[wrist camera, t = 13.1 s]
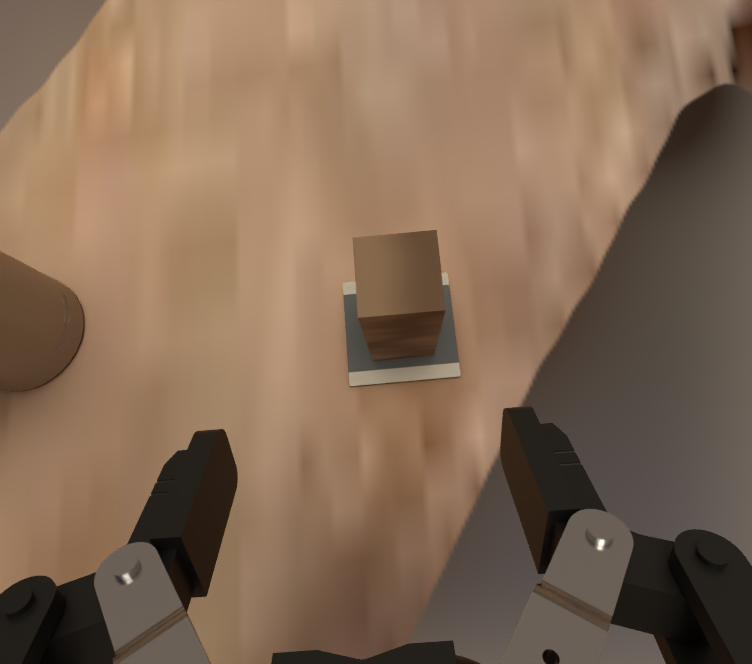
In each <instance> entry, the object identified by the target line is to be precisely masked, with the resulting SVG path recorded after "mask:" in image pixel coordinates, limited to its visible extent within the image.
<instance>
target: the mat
mask: <svg viewBox="0 0 752 664" xmlns="http://www.w3.org/2000/svg"><path fill="white" fill-rule="evenodd" d="M442 282H443V291H444V300H445V309H446V311H445V315H444V319H443V323H442V327H441V331H440V335H439V339H438V343H437V347H436V351H435V355H434V356H426V357H414V358H402V359H390V360H377V361H373V360H372V357H371V354H370V352H369V349H368V346H367V343H366V340H365V337H364V334H363V331H362V328H361V325H360V323H359V320H358V312H357V296H356V281H354V282H344V283H343V294H344V308H345V323H346V338H347V353H348V368H349V383H350V386H361V385H372V384H383V383H394V382H405V381H416V380H427V379H438V378H449V377H460V376H461V375H460V367H459V360H458V352H457V344H456V336H455V328H454V320H453V313H452V305H451V297H450V289H449V281H448V273H447V272H445V273H442Z"/></svg>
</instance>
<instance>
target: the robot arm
mask: <svg viewBox="0 0 752 664" xmlns="http://www.w3.org/2000/svg"><path fill="white" fill-rule="evenodd" d="M83 327H84V326H83V313H82V309H81V305H80V303H79V301H78V299H77V297H76V296H75V294H74V293H73V292H72V291H71V290H70V289H69V288H68V287H67V286H65V285H63V284H62V283H60V282H59V281H57V280H55V279H53V278H51V277H49V276H47V275H45V274H43V273H41V272H39V271H37V270H35V269H33V268H32V267H30V266H28V265H26V264H24V263H22V262H21V261H19V260H17V259H15V258H13V257H11V256H9V255H7V254H5V253H3V252H1V251H0V390H7V391H24V390H28V389H32V388H35V387H38V386H40V385H42V384H44V383H46V382H48V381H50V380H51V379H52V378H54V377H55V376H56V375H58V374H59V373H60V372H61V371H62V370H63V369H64V368H65V367H66V366H67V364H68V363H69V362H70V361H71V359H72V357H73V356H74V354H75V353H76V351H77V349H78V346H79V344H80V341H81V338H82V333H83ZM500 453H501V461H502V466H503V470H504V473H505V476H506V479H507V482H508V485H509V488H510V491H511V494H512V497H513V500H514V503H515V506H516V509H517V512H518V515H519V518H520V521H521V524H522V527H523V529H524V533H525V536H526V539H527V542H528V544H529V548H530V551H531V554H532V557H533V560H534V562H535V566H536V569H537V572H538V574H545V575H544V578H543V580H542V582H541V583H540V584H537V585H536V586H535V588H534V590H533V592H532V594H531V596H530V598H529V601H528V603H527V605H526V607H525V610H524V611H523V614H522V616H521V618H520V621H519V623H518V625H517V627H516V630H515V632H514V634H513V636H512V638H511V640H510V643H509V645H508V647H507V649H506V652H505V654H504V656H503V658H502V661H501V663H500V664H598V663H599V660H600V656H601V653H602V650H603V646H604V643H605V640H606V636H607V633H608V630H609V626H610V623H611V624H615V625H619V626H623V627H626V628H630V629H635V630H638V631H642V632H646V633H650V634H653V635H654V637H655V639H656V641H657V644H658V646H659V649H660V651H661V653H662V655H663V658H664V660H665V662H666V664H752V566H751V565H750V563H749V562H748V560H747V559H746V557H745V556H744V555H743V553H742V552H741V551H740V550H739V549H738V548H737V547H736V546H735V545H734V544H732V543H731V542H730V541H728V540H727V539H725V538H723V537H721V536H719V535H717V534H715V533H712V532H708V531H705V530H696V529H695V530H687V531H684V532H682V533H681V534H679V535H678V536H677V538H676V539H675V542H673V541H668V540H663V539H658V538H653V537H648V536H644V535H640V534H637V533H635V532H632V531H630V530H629V529H628V528H627V526H626V525H625V524H624V523H623V522H622V521H621V520H619V519H618V518H617V517H615V516H613V515H612V514H609V513H608V512H607V511H606V509H605V508H604V506H603V504H602V502H601V500H600V498H599V496H598V494H597V492H596V491H595V489H594V487H593V485H592V483H591V481H590V479H589V477H588V475H587V473H586V472H585V470H584V468H583V466H582V465H581V463H580V460H579V458H578V456H577V454H576V453H575V452H574V449H573V447H572V445H571V443H570V441H569V439H568V437H567V435H566V434H564V433H563V432H562V431H561V430H560V429H559V428H557V427H556V426H555V425H554V424H553V423H547V424H540V423H539V420H538V418H537V416H536V414H535V412H534V410H533V408H532V407H530V406H529V407H528V406H527V407H514V408H505V409H504V410H503V418H502V432H501V446H500ZM237 479H238V477H237V467H236V464H235V461H234V457H233V454H232V451H231V448H230V444H229V441H228V438H227V435H226V432H225V431H224V430H223V429H218V430H205V431H196V432H195V433H194V435H193V437H192V440H191V442H190V444H189V447H188V449H187V450H181V451H177V452H176V453H175V454H174V455H173V456H172V457H171V458H170V459H169V460H168V461H167V463H166V464H165V465H164V466H163V469H162V471H161V473H160V475H159V477H158V479H157V483H156V484H155V486H154V488H153V490H152V492H151V496H150V497H149V499H148V501H147V503H146V505H145V507H144V510H143V512H142V514H141V516H140V518H139V520H138V522H137V525H136V527H135V529H134V531H133V533H132V535H131V537H130V540H129V542H128V544H127V545H125V546H123V547H121V548H119V549H117V550H116V551H114V552H113V553H112V554H110V555H109V556H108V557H107V558H106V559H105V560H104V561H103V562H102V564H101V565H100V567H99V568H98V570H97V572H95V573H93V574H90V575H88V576H85V577H82V578H79V579H77V580H74V581H71V582H68V583H65V584H62V585H60V586H56V584H55V583H54V582H53V580H52V579H51V578H49V577H46V576H33V577H29V578H26V579H23V580H21V581H19V582H17V583H15V584H14V585H12V586H11V587H9V588H8V589H6V590H5V591H4V592H3V593H1V594H0V664H211V663H210V661H209V659H208V656H207V654H206V652H205V650H204V648H203V646H202V644H201V642H200V640H199V637H198V635H197V633H196V631H195V629H194V627H193V625H192V623H191V620H190V618H189V616H188V614H187V610H188V607H189V603H190V600H191V597H205V596H207V593H208V589H209V586H210V582H211V578H212V575H213V571H214V568H215V564H216V560H217V557H218V553H219V550H220V546H221V542H222V539H223V535H224V532H225V528H226V524H227V521H228V517H229V514H230V510H231V506H232V503H233V499H234V496H235V492H236V488H237ZM271 664H480V663H478V662H476V661H473V660H471V659H468V658H465V657H462V656H457V655H455V650H454V643H453V641H442V642H426V643H412V644H406V645H404V646H401V647H398V648H395V649H393V650H390V651H387V652H384V653H382V654H379V655H376V656H373V657H371V658H368V659H363V660H360V659H355V658H350V657H346V656H341V655H337V654H332V653H328V652H323V651H319V650H312V651H297V652H283V653H273V656H272V663H271Z"/></svg>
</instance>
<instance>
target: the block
mask: <svg viewBox="0 0 752 664" xmlns="http://www.w3.org/2000/svg"><path fill="white" fill-rule="evenodd" d="M353 249H354V265H355V281H356V296H357V312H358V320H359V323H360V325H361V328H362V331H363V334H364V337H365V340H366V343H367V346H368V349H369V352H370V354H371V357H372V360H373V361H377V360H390V359H402V358H414V357H426V356H434V355H435V351H436V347H437V343H438V339H439V335H440V331H441V327H442V323H443V319H444V315H445V311H446V309H445V300H444V291H443V282H442V273H441V265H440V256H439V247H438V238H437V230H431V231H421V232H410V233H399V234H388V235H378V236H367V237H356V238H353Z"/></svg>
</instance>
